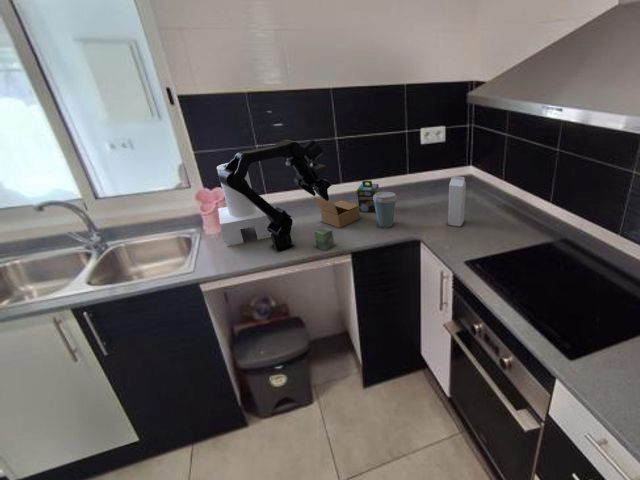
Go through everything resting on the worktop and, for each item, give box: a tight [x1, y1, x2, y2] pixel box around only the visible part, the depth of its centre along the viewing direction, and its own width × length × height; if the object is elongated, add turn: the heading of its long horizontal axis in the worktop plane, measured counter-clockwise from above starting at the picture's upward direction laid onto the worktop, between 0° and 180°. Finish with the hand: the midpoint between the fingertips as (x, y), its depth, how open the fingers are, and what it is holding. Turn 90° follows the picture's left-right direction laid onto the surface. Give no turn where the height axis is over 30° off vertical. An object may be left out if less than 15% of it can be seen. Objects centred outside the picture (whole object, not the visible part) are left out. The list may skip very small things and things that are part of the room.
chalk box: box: [356, 180, 380, 213], centre depth 187 cm, size 9×9×15 cm
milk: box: [447, 175, 467, 227], centre depth 169 cm, size 6×6×22 cm
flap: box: [315, 196, 338, 215], centre depth 169 cm, size 6×12×1 cm
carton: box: [320, 200, 361, 229], centre depth 177 cm, size 13×12×7 cm
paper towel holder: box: [216, 162, 272, 247], centre depth 160 cm, size 19×19×30 cm
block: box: [314, 226, 335, 251], centre depth 154 cm, size 5×5×7 cm
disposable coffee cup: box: [373, 191, 398, 228], centre depth 170 cm, size 11×11×15 cm
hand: (321, 197), depth 163 cm, fingers open, 9 cm apart
